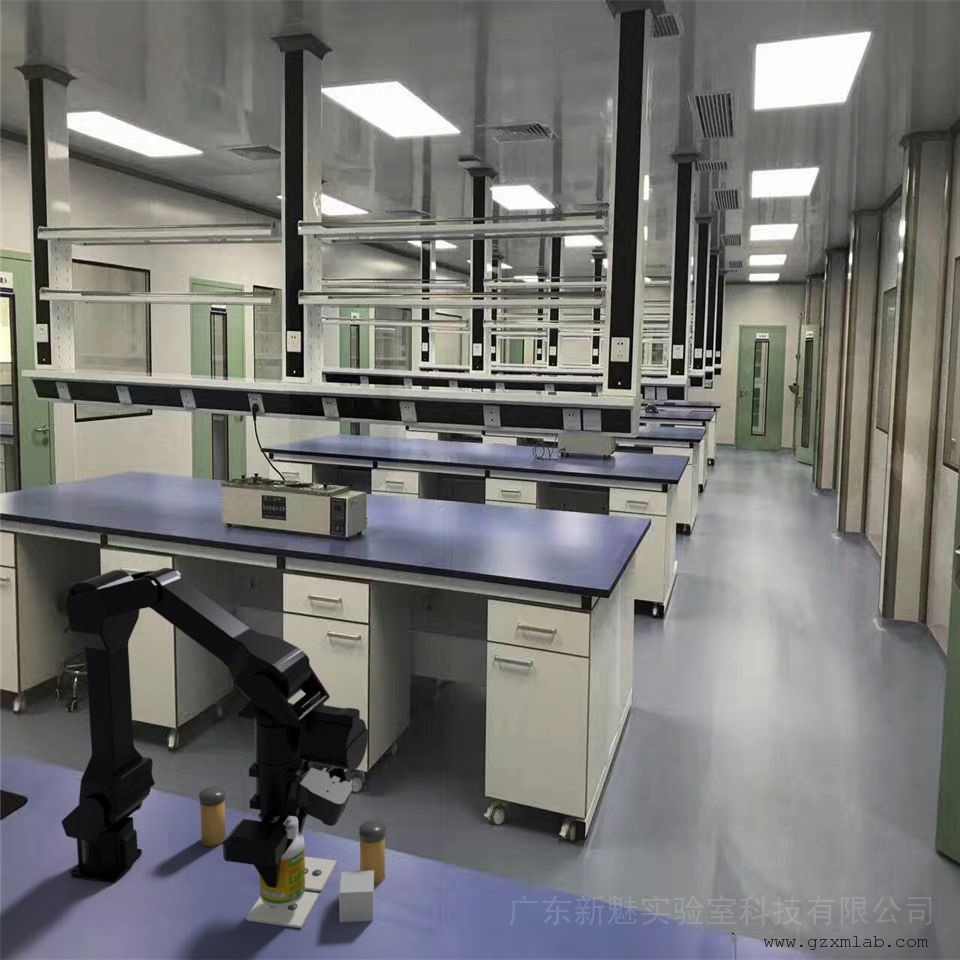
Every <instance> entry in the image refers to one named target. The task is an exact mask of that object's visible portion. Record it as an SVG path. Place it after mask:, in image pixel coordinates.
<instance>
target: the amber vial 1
mask: <svg viewBox="0 0 960 960" xmlns="http://www.w3.org/2000/svg"><path fill="white" fill-rule="evenodd" d="M198 799H199V805H200V809H199V810H200V828H201V829H200V830H201V832H200V833H201V844H202V845H203V846H206V847H215V846H219V845H221V844H223V842H224V840H225V839H226V838H227V835H226V831H227V830H226V810H225V809H226V807H225V806H226V804H225V802H226V801H225V800H226V789H225V788H223V787H221V786H209V787H206V788H204V789H202V790H201V791H200V792H199V794H198Z"/></svg>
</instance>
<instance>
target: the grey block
mask: <svg viewBox="0 0 960 960" xmlns="http://www.w3.org/2000/svg"><path fill="white" fill-rule="evenodd" d="M339 885H340V886H339V893H338V895H339V902H338V903H339V906H338V907H339V923H347V922H369V921H370V922H373V921H374V909H375V908H374V906H375V905H374V904H375V885H374V871H360V870H353V871H351V870H350V871H349V870H348V871H341V876H340V884H339Z"/></svg>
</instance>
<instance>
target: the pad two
mask: <svg viewBox="0 0 960 960" xmlns="http://www.w3.org/2000/svg"><path fill="white" fill-rule="evenodd" d="M319 897H320V893H318V892H312V891H304V894H303V896H302V898H301V899H300V900H299V901H297V902H296V903H294V904H292V905H289V906H285V907H272V906H269V905H267V904H265V903H264V902H263V901H262V899H261V897H260V896H259V897H258V899H257V901H256V902H255V904H254V905H253V906H252V909H251V910H250V911H249V913H248V915H247V916H246V918H245V921H247V922H253V923H254V922H255V923H259V924H261V923H262V924H268V925H276V926H282V927H283V926H284V927H291V928H297V929H302V928H303V927H304V924H305V922H306V920H307V919H308V916H309V915H310V914H311V911H312V910H313V908H314V906H315V904H316V903H317V901H318V898H319Z"/></svg>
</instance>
